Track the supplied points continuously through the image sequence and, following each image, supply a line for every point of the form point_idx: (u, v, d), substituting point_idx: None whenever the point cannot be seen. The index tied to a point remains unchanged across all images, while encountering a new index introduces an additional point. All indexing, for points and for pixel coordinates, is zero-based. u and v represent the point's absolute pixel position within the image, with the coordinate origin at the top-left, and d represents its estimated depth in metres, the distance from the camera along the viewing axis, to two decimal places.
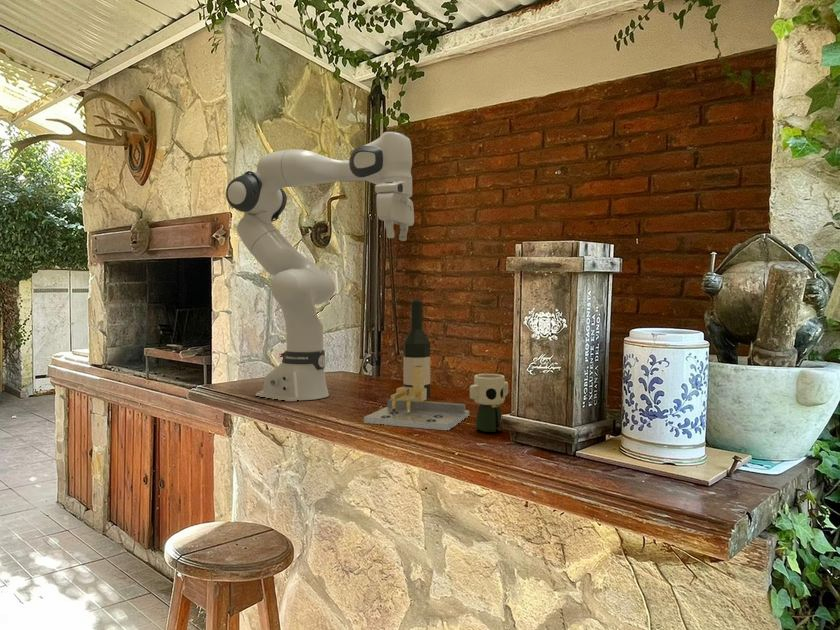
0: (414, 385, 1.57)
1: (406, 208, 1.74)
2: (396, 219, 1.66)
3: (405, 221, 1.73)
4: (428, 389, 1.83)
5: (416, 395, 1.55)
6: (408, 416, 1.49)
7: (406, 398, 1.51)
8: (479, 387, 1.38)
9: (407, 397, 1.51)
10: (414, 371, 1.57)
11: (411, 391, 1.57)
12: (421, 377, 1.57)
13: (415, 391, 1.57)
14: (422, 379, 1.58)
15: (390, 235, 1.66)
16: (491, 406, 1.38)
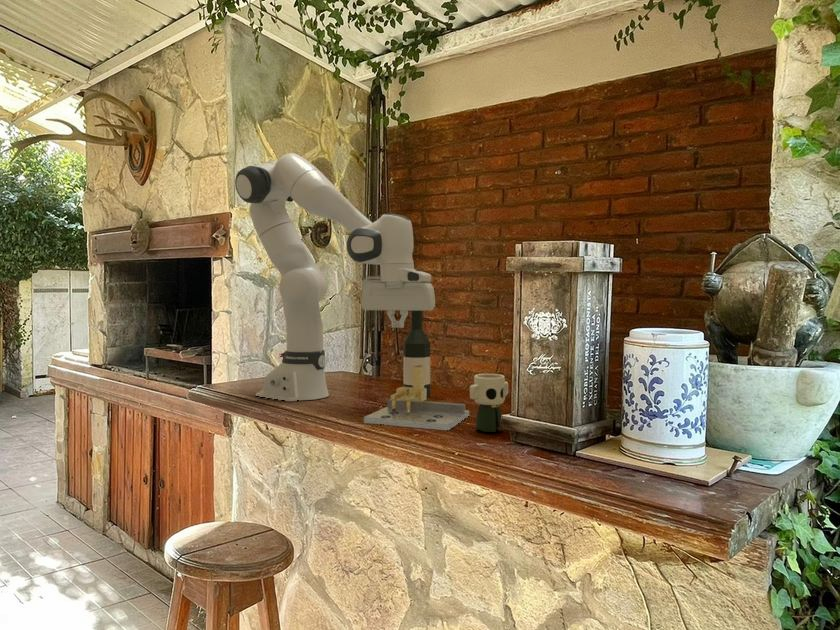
0: (414, 385, 1.57)
1: None
2: None
3: None
4: (428, 389, 1.83)
5: (416, 395, 1.55)
6: (408, 416, 1.49)
7: (406, 398, 1.51)
8: (479, 387, 1.38)
9: (407, 397, 1.51)
10: (414, 371, 1.57)
11: (411, 391, 1.57)
12: (421, 377, 1.57)
13: (415, 391, 1.57)
14: (422, 379, 1.58)
15: (403, 325, 1.59)
16: (491, 406, 1.38)
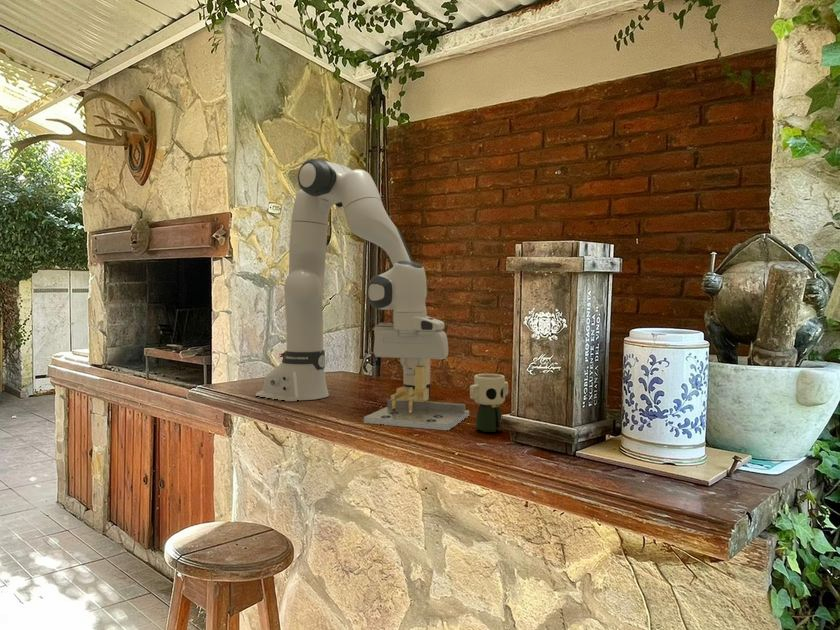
0: (416, 385, 1.57)
1: None
2: None
3: None
4: None
5: (418, 395, 1.55)
6: (408, 416, 1.49)
7: (408, 398, 1.51)
8: (479, 387, 1.38)
9: (409, 397, 1.51)
10: (416, 371, 1.57)
11: (413, 391, 1.57)
12: (423, 377, 1.57)
13: (417, 391, 1.56)
14: (424, 379, 1.58)
15: None
16: (491, 406, 1.38)
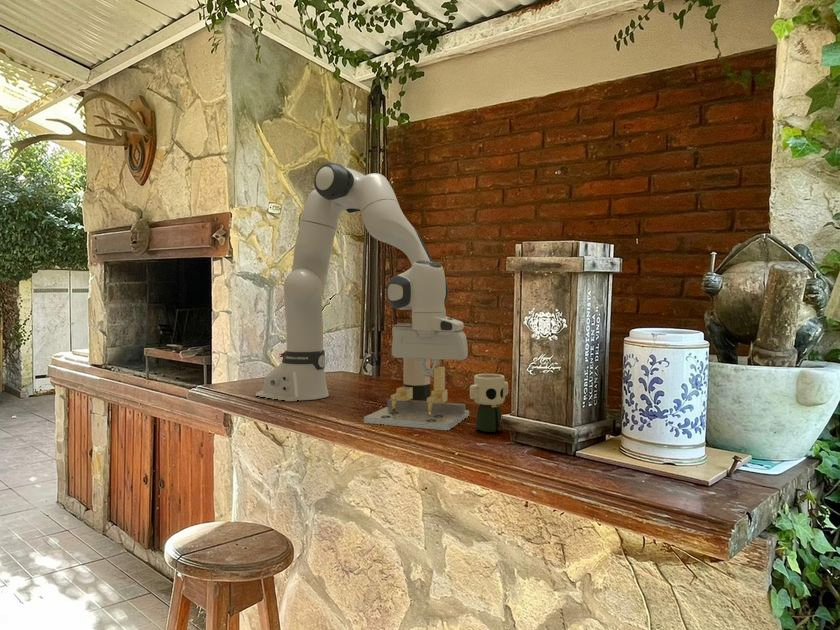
0: (435, 386, 1.55)
1: None
2: None
3: None
4: (428, 389, 1.83)
5: (437, 396, 1.53)
6: (408, 416, 1.49)
7: (427, 399, 1.49)
8: (479, 387, 1.38)
9: (429, 399, 1.49)
10: (435, 372, 1.55)
11: (432, 392, 1.55)
12: (442, 378, 1.55)
13: (436, 392, 1.54)
14: (443, 380, 1.56)
15: None
16: (491, 406, 1.38)
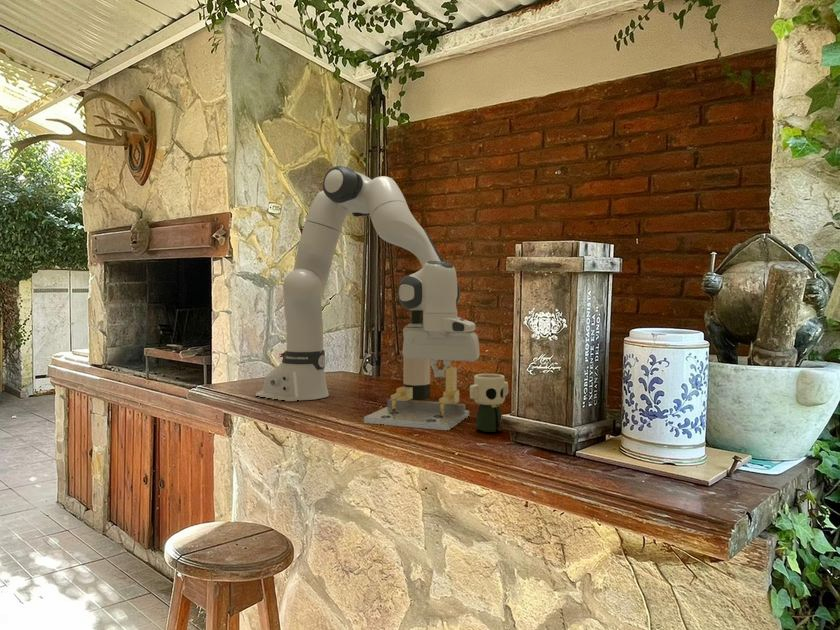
0: (447, 387, 1.54)
1: None
2: None
3: None
4: (428, 389, 1.83)
5: (449, 397, 1.52)
6: (408, 416, 1.49)
7: (440, 400, 1.48)
8: (479, 387, 1.38)
9: (441, 399, 1.48)
10: (447, 373, 1.54)
11: (444, 393, 1.54)
12: (454, 379, 1.54)
13: (448, 393, 1.53)
14: (455, 381, 1.55)
15: None
16: (491, 406, 1.38)
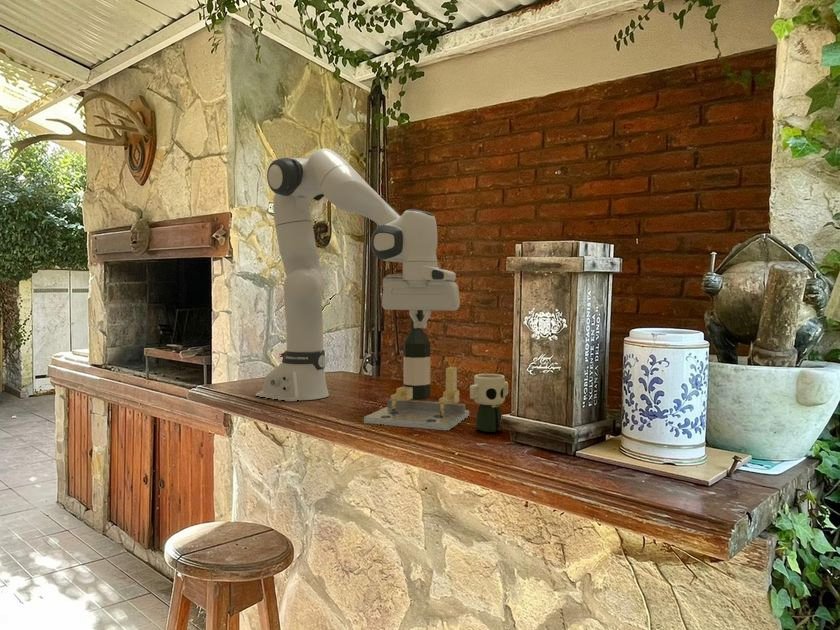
0: (447, 387, 1.54)
1: None
2: None
3: None
4: (428, 389, 1.83)
5: (449, 397, 1.52)
6: (408, 416, 1.49)
7: (440, 400, 1.48)
8: (479, 387, 1.38)
9: (441, 399, 1.48)
10: (447, 373, 1.54)
11: (444, 393, 1.54)
12: (454, 379, 1.54)
13: (448, 393, 1.53)
14: (455, 381, 1.55)
15: (425, 325, 1.53)
16: (491, 406, 1.38)
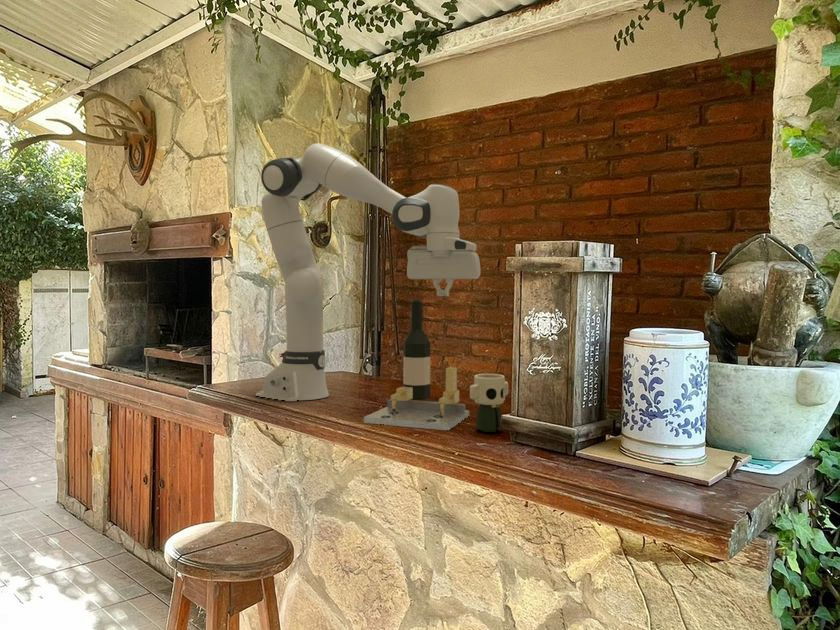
0: (447, 387, 1.54)
1: None
2: None
3: None
4: (428, 389, 1.83)
5: (449, 397, 1.52)
6: (408, 416, 1.49)
7: (440, 400, 1.48)
8: (479, 387, 1.38)
9: (441, 399, 1.48)
10: (447, 373, 1.54)
11: (444, 393, 1.54)
12: (454, 379, 1.54)
13: (448, 393, 1.53)
14: (455, 381, 1.55)
15: (448, 293, 1.63)
16: (491, 406, 1.38)
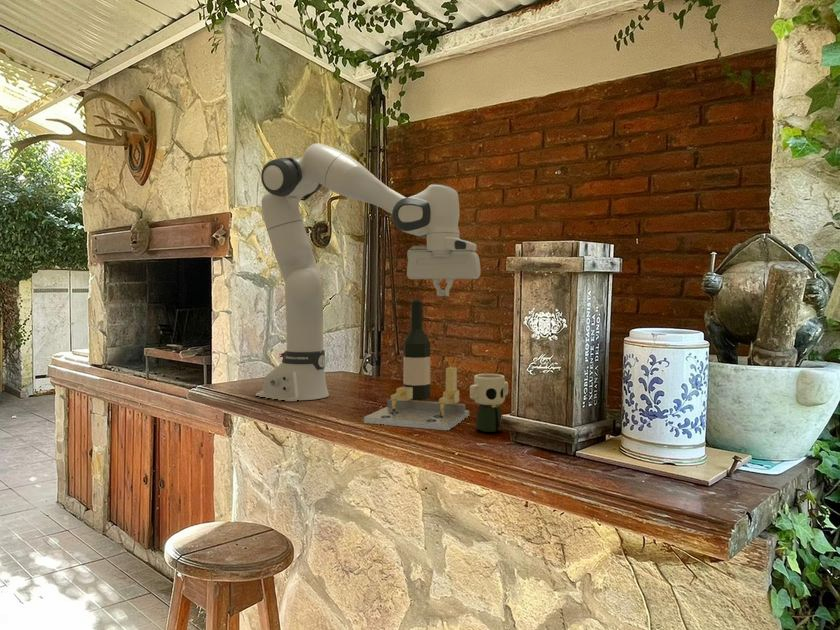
0: (447, 387, 1.54)
1: None
2: None
3: None
4: (428, 389, 1.83)
5: (449, 397, 1.52)
6: (408, 416, 1.49)
7: (440, 400, 1.48)
8: (479, 387, 1.38)
9: (441, 399, 1.48)
10: (447, 373, 1.54)
11: (444, 393, 1.54)
12: (454, 379, 1.54)
13: (448, 393, 1.53)
14: (455, 381, 1.55)
15: (448, 293, 1.63)
16: (491, 406, 1.38)
